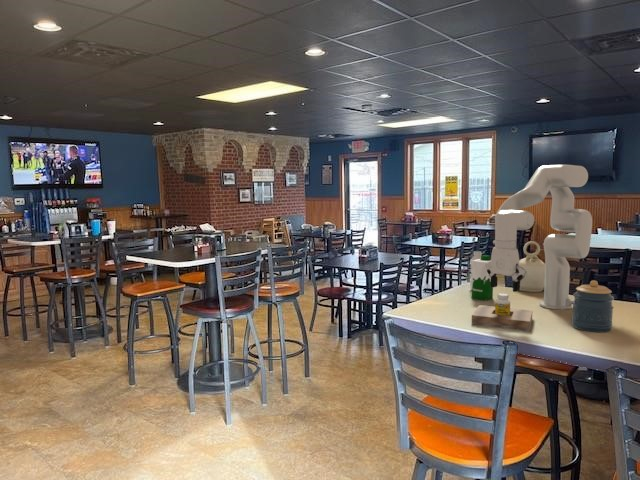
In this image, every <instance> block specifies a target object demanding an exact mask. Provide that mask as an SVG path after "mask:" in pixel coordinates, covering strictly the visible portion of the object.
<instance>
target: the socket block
mask: <svg viewBox="0 0 640 480" xmlns="http://www.w3.org/2000/svg"><path fill="white" fill-rule="evenodd" d="M533 312H534V311H533V310H530V309H523V308H522V309H521V308H511V307H510V316H507V315H498V314H495V306H492V305H491V306H489V305H480V304H479V305H478V306H477V307H476V309H475V310H474V312H472V314H471V325H475V326H476V325H477V326H484V327H491V328H500V329H507V330H508V329H509V330H518V331H524V332H530V330H531V326H532V321H533Z"/></svg>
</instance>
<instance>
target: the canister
mask: <svg viewBox="0 0 640 480" xmlns="http://www.w3.org/2000/svg"><path fill="white" fill-rule="evenodd" d="M575 290H576V291H575V292H573V294H572V295H573V298H574V299H573V300H574V302H573V304H572V318H571V324H572V325H571V326H572V327H573V328H575V329H577V330H582V331H586V332H591V333H592V332H594V333H608V332H610V331H612V328H613V315H614V314H613V313H614V312H613V311H614V306H613V301H614V300H615V297H614V296H612V295H611V293H613V292H612V290H611V289H609V288H608V286H607V287H606V286H605V285H599V283H598V281H597V280H594V279H593V280H591V281H590V282H589V284H581V285H580V286H577V287H576V288H575Z"/></svg>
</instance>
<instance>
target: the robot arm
mask: <svg viewBox="0 0 640 480" xmlns="http://www.w3.org/2000/svg"><path fill="white" fill-rule="evenodd" d="M588 179H589V173H588V170H587V169H586V168H585V167H584V166H582V165H576V164H575V165H574V164H549V165H547V164H546V165H545V164H544V165H541V166H540V167H539V166H538V168H536V170H535V172H534V173H533V175H532V176H531V177H530V179H529V181H528V182H527V183H526V185H525V187H524V188H523V189H521V190H520V191H518V192H516V193H515V194H513V195H510V197H508V198H507V199H505V200H504V202H502V204H501V205H500V207H499V208H498V209H497V211H496V214H495V217H494V223H495V225H494V226H495V227H494V228H495V229H494V234H495V235H494V240H493V241H492V244H493V245H494V247H492V250H491V251H492V252H491V255H490V260H491V263H488V264H486V265H485V267H486V269H487V272H488V274H489V276H490V277H491V287H492V288H493V289H494V288H497V287H498V276H497V275H501V276H508V277H511V278H512V279H513V280H514V281H513V282H512V292H513V293H516V292H519V291H521V290H520V281H521V280H522V279H523V278H524V277H525V274H526V273H527V270H525V269H524V268H523V267H521V266H520V262H519V261H520V254H519V250H518V248H517V233H518V231H526V230H529V229H531V228H532V227H533V226H534V224H535V216H534V214H533V213H532V212H531V211H528V210H522V209H525V208H529V207H532V206H535V205H538V204H540V203H542V202H543V201H544V200H545V198H546V197H547V195H548V193H550V195H551V199H552V200H551V210H550V221H549V225H550V227H551V229H553V230H554V231H557V232H558V231H559V232H571V233H572V232H574V233H575V234H566V233H565V234H564V233H563V234H562V233H551V234H548V235H547V236H546V237H545V238H544V241H543V250H544V258H545V259H544V261H545V262H544V263H545V283H544V288H543V301H542V300H541V301H540V302H539V306H540V307H542V308H545V309H549V310H557V311H558V310H560V311H561V310H563V311H569V310H571V309H573V302H574V299H573V298H572V299H571V298H570V296H569V293H570V292H569V291H570V275H571V274H570V273H571V271H570V270H571V267H570V264H569V261H568V260H567V259H566V258H571V259H585V258H586V257H587V256H588V255H589V252H590V247H591V241H592V240H591V239H592V229H593V217H592V214H591V212H590V211H588V210H587V209H583V208H582V209H581V208H575V195H574V193H573V191H572V190H571V188H581V187H583V186H585V185H586V184H587V182H588ZM519 271H520V272H521V274H520V275H519Z"/></svg>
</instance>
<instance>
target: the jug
mask: <svg viewBox="0 0 640 480" xmlns="http://www.w3.org/2000/svg"><path fill="white" fill-rule="evenodd" d="M530 245H534V246H535V247H536V251H535V252H533V253H530V252H528V251H527V248H528V246H530ZM540 251H541V247H540V245H539V243H538V242H536V241H534V240H533V241H532V240H531V241H528V242H526V243H525V244H524V246H523V254H524V255H526V257H524V258H521V259H519V262H520V266H521V267H523V268H524V269H525V270H527V273H526V274H525V277H524V278H523V279H522V280H521V281H520V290H519V291H522V292H529V293H532V292H533V293H539V292H541V293H542V292H544V283H545V262H543V260H542V259H540V258H539V257H538V255H539V253H540ZM520 274H521V272H520V271H519V275H520Z"/></svg>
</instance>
